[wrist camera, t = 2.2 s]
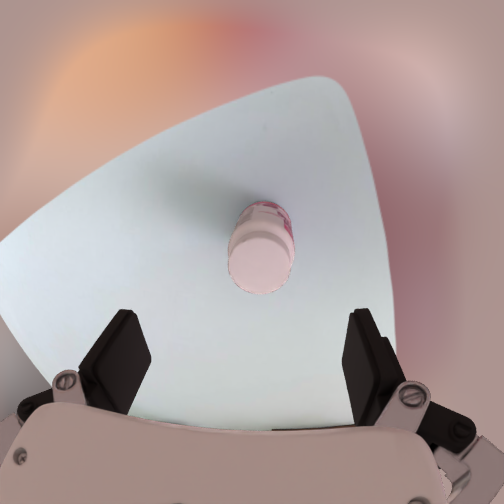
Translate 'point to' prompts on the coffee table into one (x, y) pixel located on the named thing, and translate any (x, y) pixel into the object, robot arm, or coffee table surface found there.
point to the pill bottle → (261, 248)
